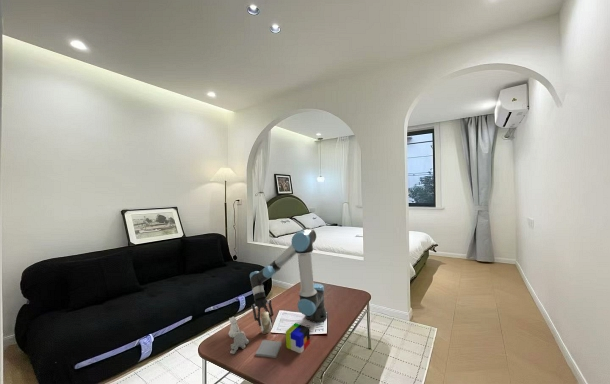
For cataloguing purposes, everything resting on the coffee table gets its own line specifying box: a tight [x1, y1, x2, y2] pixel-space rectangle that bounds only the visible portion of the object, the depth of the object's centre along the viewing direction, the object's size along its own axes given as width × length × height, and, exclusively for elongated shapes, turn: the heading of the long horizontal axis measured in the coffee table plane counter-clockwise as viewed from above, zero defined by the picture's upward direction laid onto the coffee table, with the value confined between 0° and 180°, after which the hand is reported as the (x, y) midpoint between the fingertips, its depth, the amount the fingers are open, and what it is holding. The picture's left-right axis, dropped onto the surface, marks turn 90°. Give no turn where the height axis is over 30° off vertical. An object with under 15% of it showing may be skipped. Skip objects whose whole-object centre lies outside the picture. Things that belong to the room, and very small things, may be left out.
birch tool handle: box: [260, 310, 270, 335], centre depth 168 cm, size 5×5×12 cm
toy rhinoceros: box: [229, 332, 250, 355], centre depth 151 cm, size 7×12×8 cm, turn 146°
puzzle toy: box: [285, 322, 311, 354], centre depth 153 cm, size 10×10×10 cm
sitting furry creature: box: [228, 316, 245, 339], centre depth 165 cm, size 10×9×12 cm
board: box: [254, 339, 283, 359], centre depth 151 cm, size 12×12×1 cm
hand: (267, 329), depth 164 cm, fingers closed on birch tool handle, 5 cm apart
